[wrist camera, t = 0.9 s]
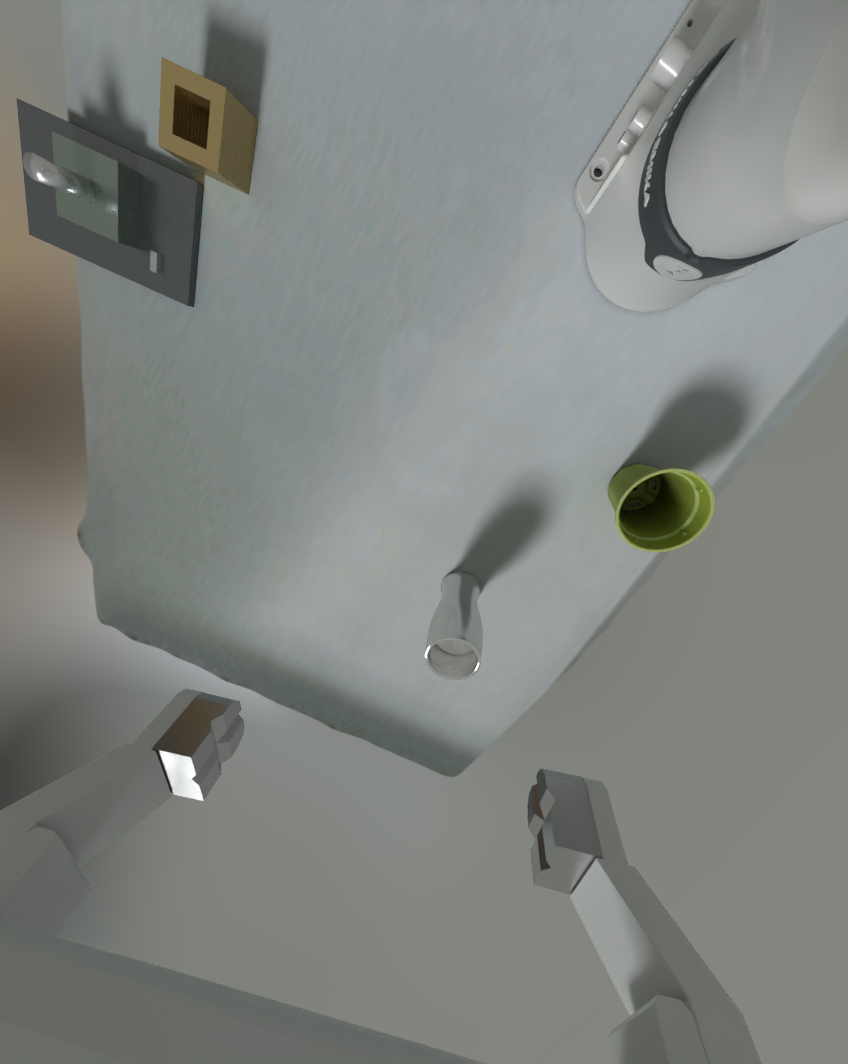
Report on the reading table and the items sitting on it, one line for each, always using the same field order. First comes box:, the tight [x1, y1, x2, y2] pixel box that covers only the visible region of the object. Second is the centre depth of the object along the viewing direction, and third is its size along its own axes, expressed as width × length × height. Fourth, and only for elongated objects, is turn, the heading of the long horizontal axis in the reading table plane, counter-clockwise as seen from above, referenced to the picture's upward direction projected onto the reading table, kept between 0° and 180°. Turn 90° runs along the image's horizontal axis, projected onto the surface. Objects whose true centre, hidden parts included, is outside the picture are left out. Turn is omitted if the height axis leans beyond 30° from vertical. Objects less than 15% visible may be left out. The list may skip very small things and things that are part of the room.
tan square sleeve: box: [159, 57, 258, 194], centre depth 35 cm, size 6×6×5 cm
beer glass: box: [425, 572, 483, 680], centre depth 49 cm, size 7×7×15 cm
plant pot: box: [608, 464, 715, 552], centre depth 42 cm, size 9×9×9 cm
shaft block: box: [17, 99, 204, 307], centre depth 38 cm, size 12×20×8 cm, turn 68°
